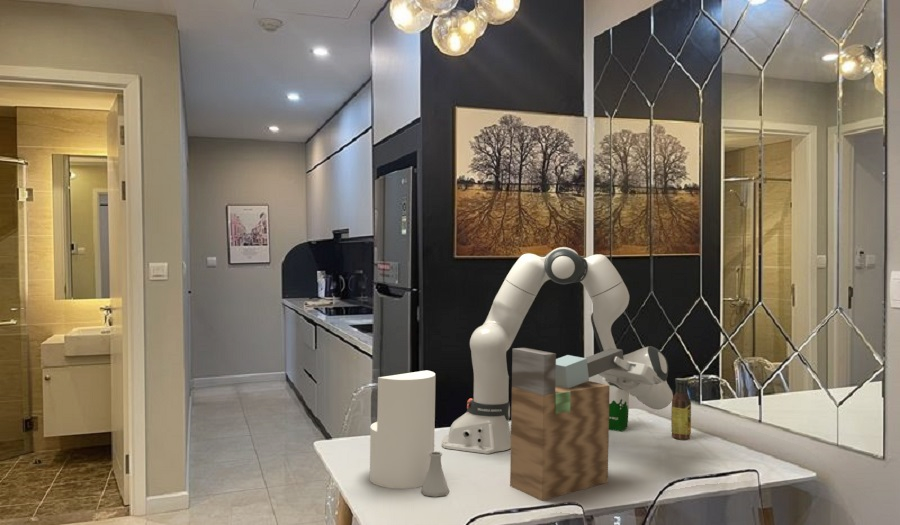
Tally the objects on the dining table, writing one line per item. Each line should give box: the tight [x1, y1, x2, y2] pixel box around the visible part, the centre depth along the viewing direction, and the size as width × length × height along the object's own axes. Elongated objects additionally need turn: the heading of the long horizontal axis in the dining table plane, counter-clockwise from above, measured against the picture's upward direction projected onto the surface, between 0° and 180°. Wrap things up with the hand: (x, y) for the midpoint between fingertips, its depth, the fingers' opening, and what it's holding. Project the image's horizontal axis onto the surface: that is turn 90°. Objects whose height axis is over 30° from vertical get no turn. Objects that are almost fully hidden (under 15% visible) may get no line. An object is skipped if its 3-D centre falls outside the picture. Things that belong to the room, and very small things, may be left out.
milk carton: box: [601, 377, 630, 432], centre depth 230 cm, size 9×9×20 cm
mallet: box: [555, 348, 624, 389], centre depth 177 cm, size 24×7×6 cm, turn 125°
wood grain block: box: [509, 347, 610, 501], centre depth 171 cm, size 24×13×36 cm, turn 125°
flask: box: [420, 450, 450, 498], centre depth 164 cm, size 7×7×10 cm
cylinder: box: [369, 370, 436, 490], centre depth 175 cm, size 17×17×28 cm
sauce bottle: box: [670, 377, 692, 441], centre depth 219 cm, size 7×6×20 cm
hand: (606, 357), depth 181 cm, fingers closed on mallet, 4 cm apart
